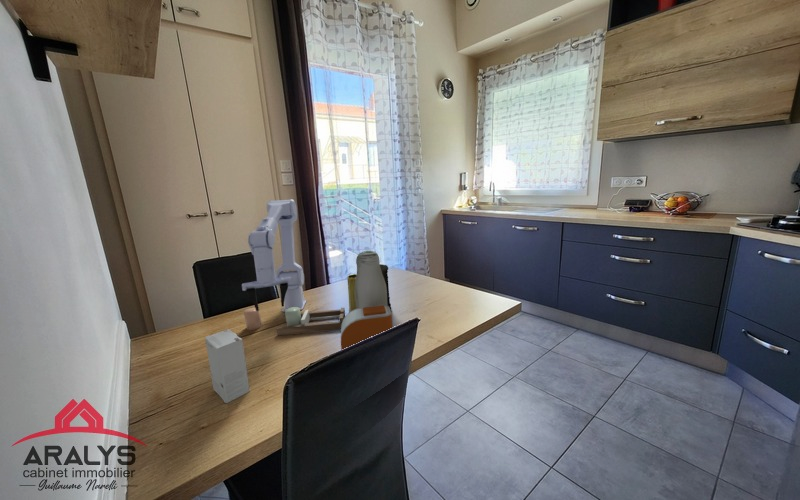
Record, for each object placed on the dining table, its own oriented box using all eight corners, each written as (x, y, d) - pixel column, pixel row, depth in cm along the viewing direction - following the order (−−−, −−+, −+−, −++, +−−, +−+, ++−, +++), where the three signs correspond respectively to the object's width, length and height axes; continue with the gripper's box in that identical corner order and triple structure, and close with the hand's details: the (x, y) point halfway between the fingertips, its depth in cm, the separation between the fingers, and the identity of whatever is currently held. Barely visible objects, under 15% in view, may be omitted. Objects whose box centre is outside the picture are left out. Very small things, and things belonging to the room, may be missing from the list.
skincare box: (213, 390, 76) (201, 337, 72) (238, 378, 80) (228, 327, 77) (226, 405, 70) (214, 348, 67) (252, 391, 75) (242, 337, 72)
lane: (285, 320, 113) (284, 311, 112) (345, 314, 116) (344, 306, 115) (277, 335, 102) (275, 325, 101) (343, 328, 104) (342, 319, 104)
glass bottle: (375, 322, 108) (369, 246, 102) (394, 331, 101) (390, 250, 95) (352, 332, 102) (345, 252, 95) (371, 343, 94) (365, 256, 88)
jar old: (289, 324, 110) (286, 307, 109) (303, 322, 111) (301, 306, 109) (285, 330, 105) (283, 313, 104) (300, 329, 106) (298, 312, 105)
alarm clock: (390, 341, 95) (388, 301, 92) (395, 356, 87) (392, 313, 84) (343, 348, 92) (339, 307, 89) (342, 364, 84) (338, 319, 81)
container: (364, 314, 115) (360, 269, 111) (374, 305, 123) (371, 263, 119) (385, 317, 111) (382, 271, 107) (395, 308, 120) (392, 264, 115)
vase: (361, 314, 116) (358, 278, 112) (346, 313, 117) (343, 278, 114) (366, 307, 121) (364, 273, 118) (352, 306, 123) (349, 273, 119)
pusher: (306, 319, 113) (305, 309, 112) (345, 316, 114) (344, 306, 113) (302, 330, 104) (300, 319, 103) (343, 326, 106) (342, 315, 105)
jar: (249, 324, 112) (246, 308, 110) (263, 323, 112) (260, 306, 111) (244, 330, 107) (241, 313, 105) (259, 329, 107) (256, 312, 106)
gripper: (239, 273, 91) (245, 316, 93) (289, 266, 96) (294, 307, 99) (240, 269, 97) (246, 309, 99) (288, 263, 103) (292, 301, 105)
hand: (270, 307), depth 99 cm, fingers open, 7 cm apart
